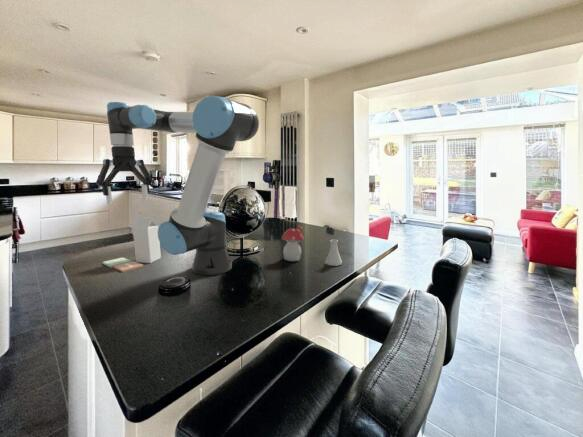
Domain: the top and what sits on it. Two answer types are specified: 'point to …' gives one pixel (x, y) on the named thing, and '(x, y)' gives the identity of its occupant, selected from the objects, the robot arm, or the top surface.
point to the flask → (333, 255)
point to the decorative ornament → (292, 244)
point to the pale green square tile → (116, 262)
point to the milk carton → (146, 240)
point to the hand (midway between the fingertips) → (128, 202)
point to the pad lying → (128, 266)
